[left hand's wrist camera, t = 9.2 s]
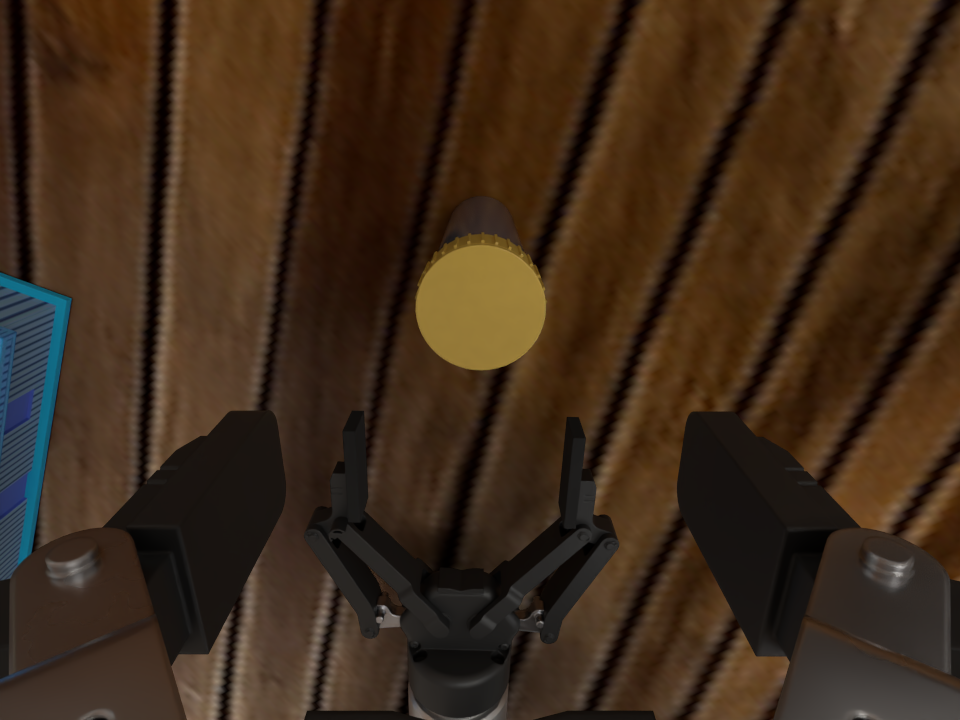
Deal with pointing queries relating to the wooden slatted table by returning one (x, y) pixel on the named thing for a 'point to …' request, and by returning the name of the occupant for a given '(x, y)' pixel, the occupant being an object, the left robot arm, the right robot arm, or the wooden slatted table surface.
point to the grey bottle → (481, 220)
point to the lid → (480, 302)
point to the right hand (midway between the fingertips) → (465, 423)
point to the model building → (26, 406)
